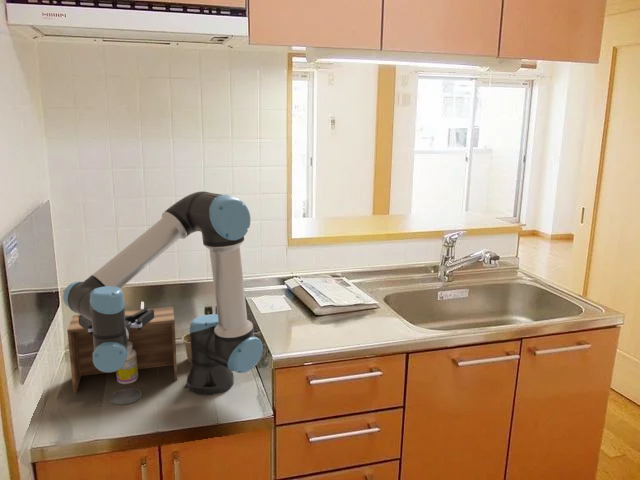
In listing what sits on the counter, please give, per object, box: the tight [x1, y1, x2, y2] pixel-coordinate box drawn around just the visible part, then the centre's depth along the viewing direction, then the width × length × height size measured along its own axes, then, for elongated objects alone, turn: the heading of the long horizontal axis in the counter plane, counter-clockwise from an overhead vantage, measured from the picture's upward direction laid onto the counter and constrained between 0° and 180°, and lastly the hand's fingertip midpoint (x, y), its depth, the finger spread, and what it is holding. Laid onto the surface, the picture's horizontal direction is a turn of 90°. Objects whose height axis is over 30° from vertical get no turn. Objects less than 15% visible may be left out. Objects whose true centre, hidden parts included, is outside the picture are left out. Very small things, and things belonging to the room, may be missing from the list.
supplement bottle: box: [115, 341, 139, 385], centre depth 170 cm, size 7×7×13 cm
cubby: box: [67, 306, 178, 394], centre depth 171 cm, size 12×32×21 cm, turn 108°
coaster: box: [109, 387, 142, 406], centre depth 161 cm, size 9×9×1 cm
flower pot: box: [181, 332, 191, 363], centre depth 186 cm, size 9×9×9 cm
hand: (118, 307), depth 156 cm, fingers open, 13 cm apart
